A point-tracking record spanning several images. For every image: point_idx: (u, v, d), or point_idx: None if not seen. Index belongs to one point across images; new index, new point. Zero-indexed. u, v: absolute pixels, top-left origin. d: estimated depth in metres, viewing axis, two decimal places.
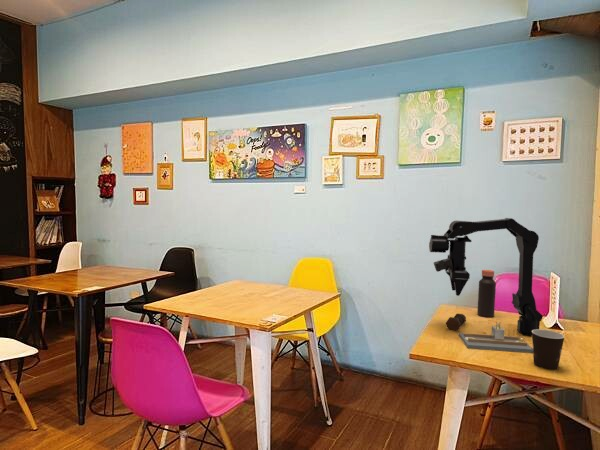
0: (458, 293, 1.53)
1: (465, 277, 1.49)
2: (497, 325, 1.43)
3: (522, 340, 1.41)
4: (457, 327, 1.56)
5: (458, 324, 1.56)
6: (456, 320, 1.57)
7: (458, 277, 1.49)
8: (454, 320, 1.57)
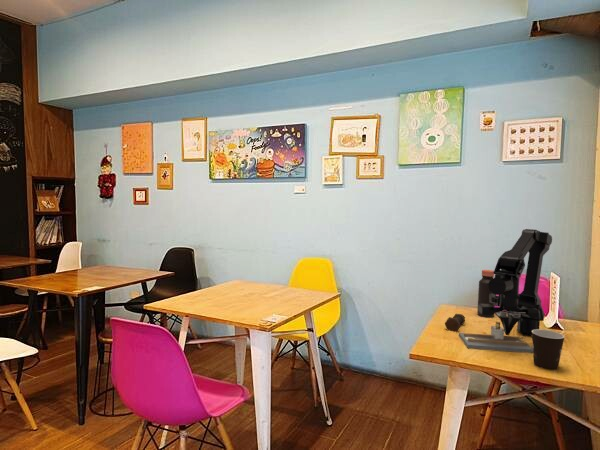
0: (505, 331, 1.43)
1: (481, 312, 1.42)
2: (497, 325, 1.43)
3: (522, 340, 1.41)
4: (456, 327, 1.56)
5: (457, 324, 1.56)
6: (455, 320, 1.56)
7: (479, 310, 1.44)
8: (453, 320, 1.57)
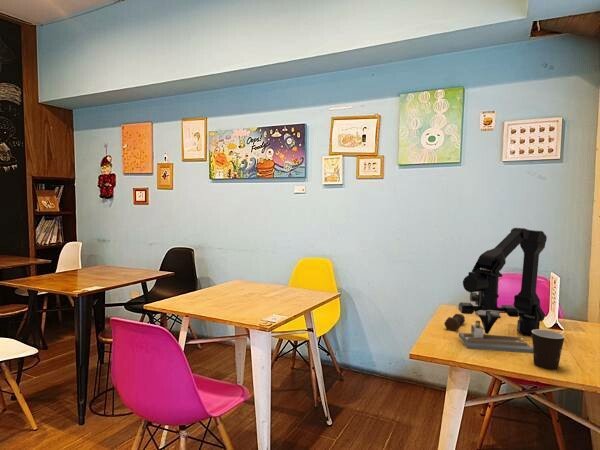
0: (484, 330, 1.44)
1: (461, 310, 1.43)
2: (476, 324, 1.44)
3: (522, 340, 1.41)
4: (456, 327, 1.56)
5: (457, 324, 1.56)
6: (455, 320, 1.56)
7: (459, 309, 1.45)
8: (453, 320, 1.57)
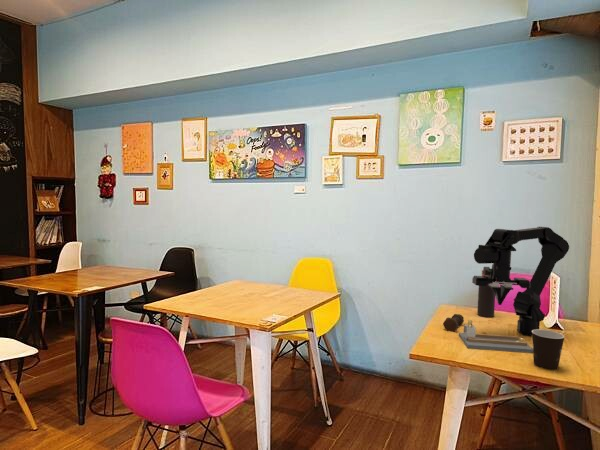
0: (497, 301, 1.51)
1: (475, 283, 1.51)
2: (469, 323, 1.44)
3: (522, 340, 1.41)
4: (454, 327, 1.56)
5: (455, 324, 1.56)
6: (453, 320, 1.56)
7: (473, 282, 1.53)
8: (451, 320, 1.56)
